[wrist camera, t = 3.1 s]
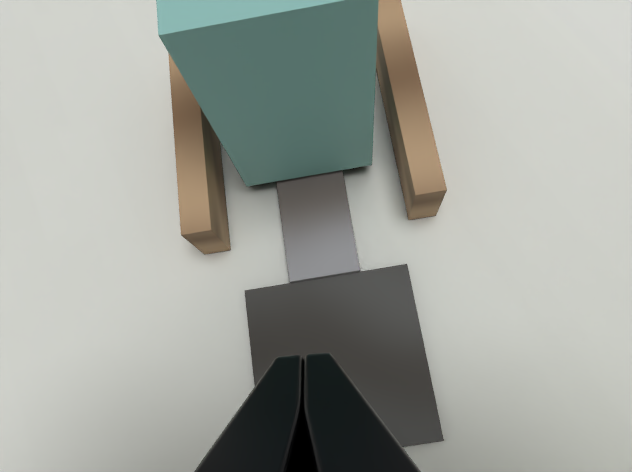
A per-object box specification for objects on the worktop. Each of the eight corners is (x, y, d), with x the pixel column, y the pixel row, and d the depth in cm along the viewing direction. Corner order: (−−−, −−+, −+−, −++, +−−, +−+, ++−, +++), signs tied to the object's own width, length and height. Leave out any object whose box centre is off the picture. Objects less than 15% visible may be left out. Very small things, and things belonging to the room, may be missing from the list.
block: (371, 165, 22) (379, -7, 12) (246, 186, 22) (158, 35, 13) (352, 68, 23) (345, -151, 14) (235, 89, 24) (149, -111, 14)
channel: (486, 433, 19) (508, 441, 16) (222, 472, 20) (198, 487, 17) (360, -106, 28) (360, -163, 25) (177, -70, 28) (156, -122, 25)
